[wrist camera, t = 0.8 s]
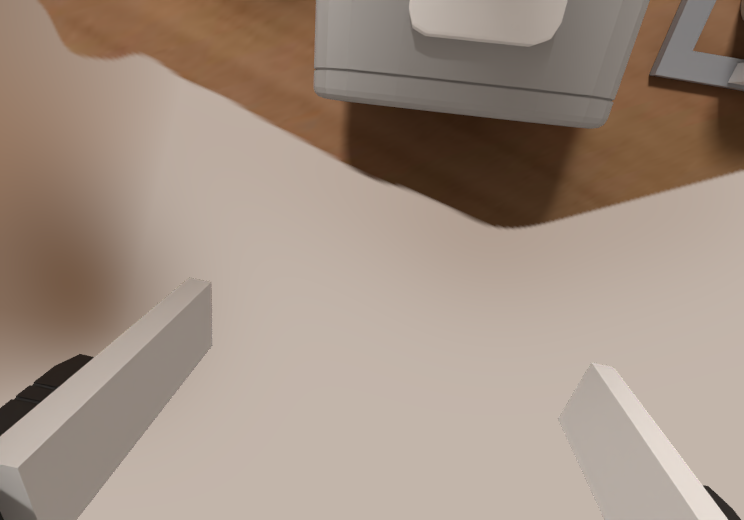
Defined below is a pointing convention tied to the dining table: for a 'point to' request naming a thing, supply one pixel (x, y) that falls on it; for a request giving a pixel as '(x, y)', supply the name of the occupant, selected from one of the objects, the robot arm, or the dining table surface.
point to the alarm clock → (478, 56)
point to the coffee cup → (742, 9)
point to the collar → (689, 64)
